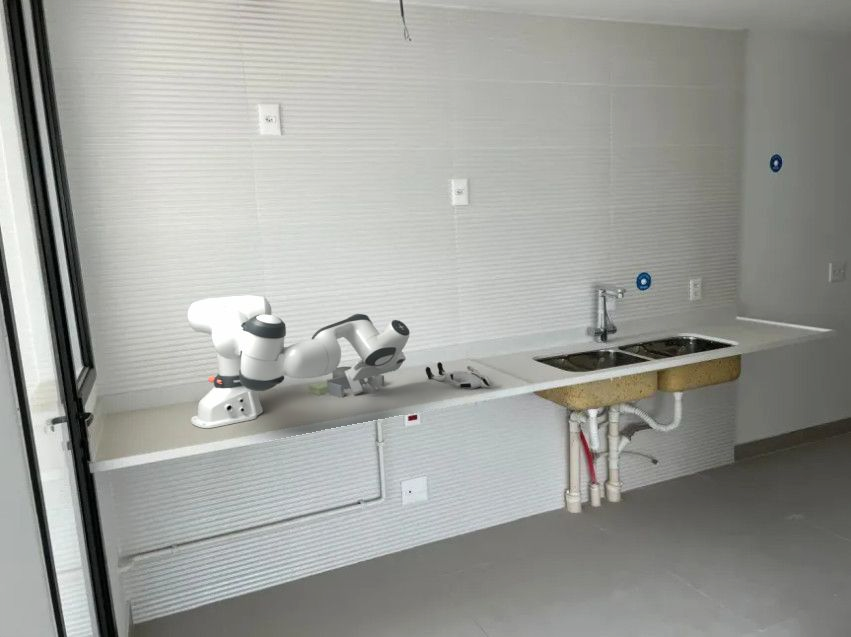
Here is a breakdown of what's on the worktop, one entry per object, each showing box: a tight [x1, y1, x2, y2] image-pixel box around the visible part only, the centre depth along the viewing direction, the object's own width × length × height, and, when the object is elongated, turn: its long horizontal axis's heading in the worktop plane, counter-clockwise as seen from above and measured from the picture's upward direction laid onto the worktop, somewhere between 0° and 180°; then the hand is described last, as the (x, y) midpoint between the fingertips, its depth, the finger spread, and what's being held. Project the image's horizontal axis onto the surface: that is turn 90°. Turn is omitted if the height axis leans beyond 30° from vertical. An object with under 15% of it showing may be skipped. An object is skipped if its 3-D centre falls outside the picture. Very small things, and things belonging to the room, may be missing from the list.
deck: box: [308, 366, 385, 398], centre depth 230 cm, size 26×16×6 cm, turn 131°
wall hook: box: [344, 369, 381, 396], centre depth 223 cm, size 8×10×10 cm
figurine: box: [425, 361, 492, 390], centre depth 228 cm, size 13×6×30 cm
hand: (367, 379), depth 222 cm, fingers closed, pressing on wall hook
